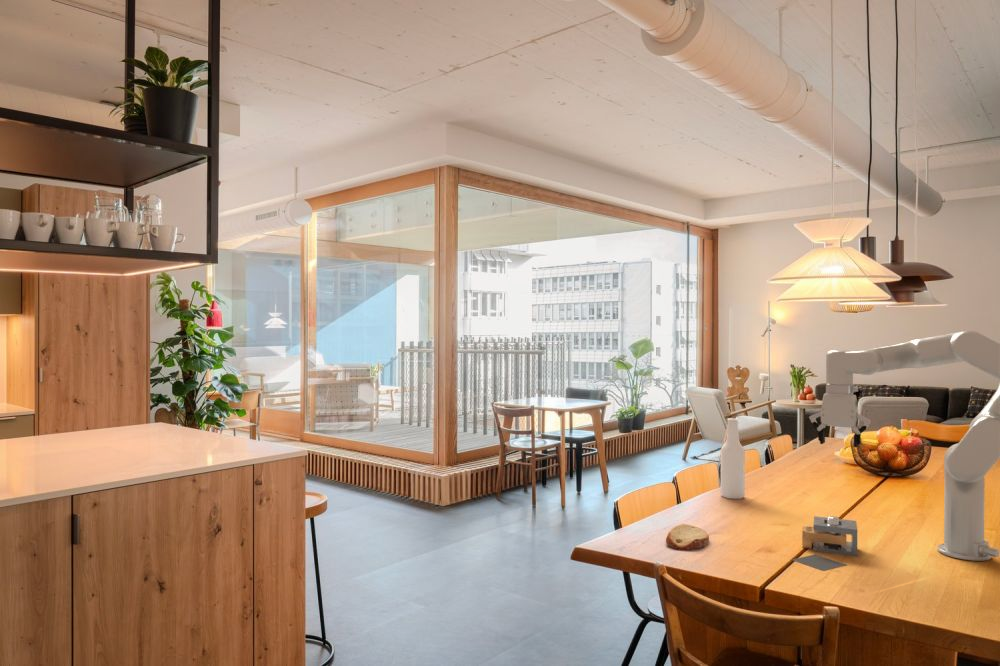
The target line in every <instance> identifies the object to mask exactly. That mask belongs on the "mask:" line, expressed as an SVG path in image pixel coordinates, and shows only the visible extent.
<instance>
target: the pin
mask: <svg viewBox="0 0 1000 666" xmlns="http://www.w3.org/2000/svg"><path fill="white" fill-rule="evenodd" d="M826 518H827V524H833V525H839V519H840V518H839V517H838V516H834V515H829V516H826ZM827 534H835V535H839V533H832V532H827ZM827 546H831V547H839V544H831V543H827ZM839 548H840V547H839Z"/></svg>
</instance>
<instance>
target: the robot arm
mask: <svg viewBox="0 0 1000 666" xmlns="http://www.w3.org/2000/svg"><path fill="white" fill-rule="evenodd" d="M825 358H826V359H825V365H826V366H825V375H826V376H825V393H823V396H822V401H821V410H820V411H819V412H817V413H814V414H811V415H810V416H809V417H808V418H809V420H810V422H811V423H812V426H813V427H814V428H815V429H816V430H817V431H818V436H817V437H818V441H819V444H820V445H823V444H825V443H826V430H825V428H826V427H838V428H851V429H852V430H853V433H854V435H853V447H854V448H859V445H861V443H862V442H861V440H862V438H861V435H862V433H863V432H864V431H866V430H868V427H869V426H870V424H871V421H872V420H870V419H869V418H867V417H865V416H863V415H861V414H859V405H858V399H857V395H856V394H854V393H856V392H859V387H857V386H855V385H854V374H856V375H861V376H870V375H871V376H872V375H875V374H876V373H881V372H888V371H894V370H902V369H922V368H931V367H937V366H942V365H943V366H944V365H948V364H950V365H951V364H955V363H957V364H958V363H962V362H965V363H967V364H969V365H970V366H973V367H974V368H977V369H978V370H980V371H981V372H984V373H986V374H987V375H991V376H992V377H994V378H996V379H998V386H997V388H996V391H995V392H994V394H993V395H992V397H991V398H990V399H989V400H988V402H987V403H986V404H985V406H984V407H983V408H982V409H981V411H980V412H979V413H978V414H977V415H976V416H975V417H974V418H973V419H972V420H971V421H970V424H969V427H968V428H969V429H968V430H967V432H966V433H965V434H964V435H963V437H961V439H960V440H959V442H957V443H955V444H952V445H951V446H949V447H948V448H947V449H946V451H945V453H944V456H943V457H944V458H943V468H944V470H943V473H944V477H943V478H944V495H943V496H944V497H943V498H944V499H943V502H944V503H943V504H944V505H943V508H944V509H943V513H944V514H943V517H944V518H943V541H944V542H943V543H941V544H938V545H937V551H938V552H939V553H940V554H942V555H945V556H947V557H950V558H951V557H952V558H955V559H959V560H965V561H966V560H967V561H971V562H972V561H973V562H974V561H975V562H977V561H978V562H983V561H988V560H989V561H990V560H991V559H992V557H994V558H999V557H1000V551H999V549H998V548H997V547H990V545H989V541H987V540H985V500H986V499H985V497H986V496H985V495H986V493H985V492H986V491H985V487H986V485H985V476H986V475H987V473H988V472H989V471H990V470H991V469H992V468H993V467H994V465H995V464H996V463H997V462H998V461H999V459H1000V343H999V342H998V341H995V340H993V339H991V338H989V337H987V336H985V335H984V334H982V333H980V332H978V331H975V330H964V331H957V332H951V333H946V334H940V335H934V336H931V337H930V336H928V337H923V338H917V339H912V340H910V341H909V340H908V341H906V342H903V343H898V344H893V345H888V346H882V347H881V346H880V347H878V348H877V347H875V348H870V349H865V350H859V351H857V350H856V351H850V350H839V349H838V350H834V349H833V350H832V349H831V350H828V352H826V355H825ZM819 417H820V423H819V422H818V421H817V418H819ZM859 420H860V421H861V422H863V424H862V426H861V427H859V426H858V425H859Z"/></svg>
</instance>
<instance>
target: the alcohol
mask: <svg viewBox="0 0 1000 666" xmlns="http://www.w3.org/2000/svg"><path fill="white" fill-rule="evenodd" d="M726 424H727V430H726V440H725V442H724V444H723V445H722V446H721V449H720V495H721V497H723V498H725V499H731V500H740V499H743V498H744V497H745V492H746V491H745V489H746V487H745V485H746V480H745V478H746V477H745V475H746V470H745V469H746V460H745V459H746V453H745V448H744V446H743V445H742V444H741V442H740V435H739V433H740V432H739V419H738V418H735V417H729V418H727V423H726Z"/></svg>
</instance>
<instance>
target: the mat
mask: <svg viewBox="0 0 1000 666" xmlns="http://www.w3.org/2000/svg"><path fill="white" fill-rule="evenodd" d="M791 561H793V562H796V563H798V564H802V565H805V566H808V567H810V568H813V569H816V570H819V571H822V572H825V571H830V570H832V569H833V570H834V569H838V568H842V567H846V566H847V564H846V563H844V562H841V561H840V562H839V561H836V560H834V559H830V558H828V557H825V556H821V555H820V554H819V555H818V554H810V555H806V556H802V557H798V558H793V559H791Z"/></svg>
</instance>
